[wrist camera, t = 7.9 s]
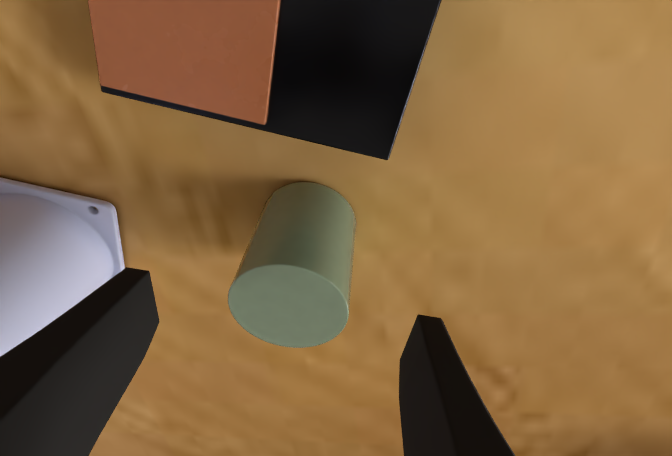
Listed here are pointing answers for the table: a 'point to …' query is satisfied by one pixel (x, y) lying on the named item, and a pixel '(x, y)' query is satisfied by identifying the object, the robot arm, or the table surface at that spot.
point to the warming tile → (189, 52)
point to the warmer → (339, 72)
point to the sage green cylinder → (297, 268)
